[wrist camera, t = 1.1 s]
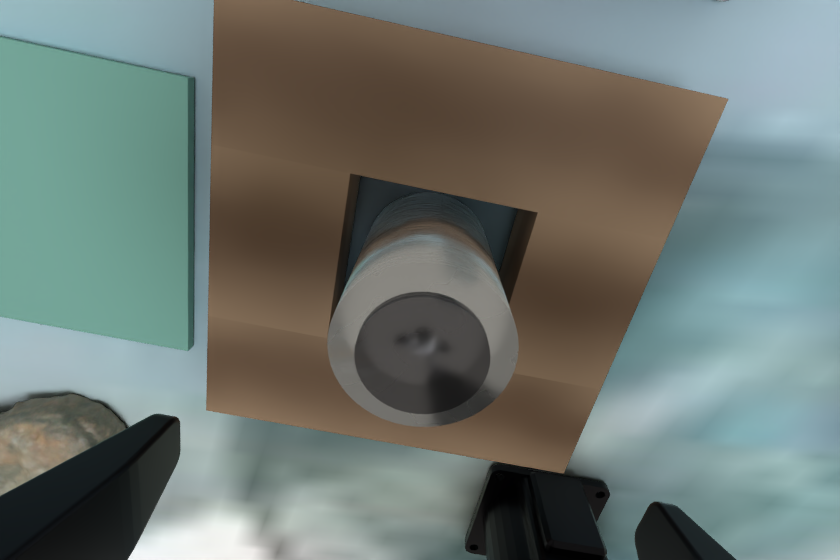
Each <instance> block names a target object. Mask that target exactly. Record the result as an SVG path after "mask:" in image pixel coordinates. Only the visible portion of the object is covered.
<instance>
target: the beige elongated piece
mask: <svg viewBox="0 0 840 560" xmlns="http://www.w3.org/2000/svg"><path fill="white" fill-rule="evenodd" d="M125 429H126V427H125V425H124V423H123V422H122V421H120V420H119V418H118V417H117V416H116V415H115V414H114V413H113V412H112V411H111V410H110V409H108V408H105V406H104V405H103V404H101V403H97V402H94V401H91V400H90V399H88V398H86V397H82V396H79V395H76V394H67V395H65V396H59V397H58V396H53V397H50V398H33V399H30V400H28V401H24V402H17V403H16V404H15V405H14V407H13V408H12V409H10V410H9V411H6V412H0V495H2V494H4V493H6V492H8V491H10V490H12V489H14V488H16V487H17V486H19V485H21V484H23V483H25V482H27V481H29V480H31V479H32V478H34V477H36V476H38V475H40V474H42V473H44V472H46V471H48V470H49V469H51V468H53V467H55V466H57V465H59V464H61V463H63V462H64V461H66V460H68V459H70V458H72V457H74V456H76V455H78V454H80V453H81V452H83V451H85V450H87V449H89V448H91V447H93V446H95V445H96V444H98V443H100V442H102V441H104V440H106V439H108V438H110V437H111V436H113V435H115V434H117V433H119V432H121V431H123V430H125Z"/></svg>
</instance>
